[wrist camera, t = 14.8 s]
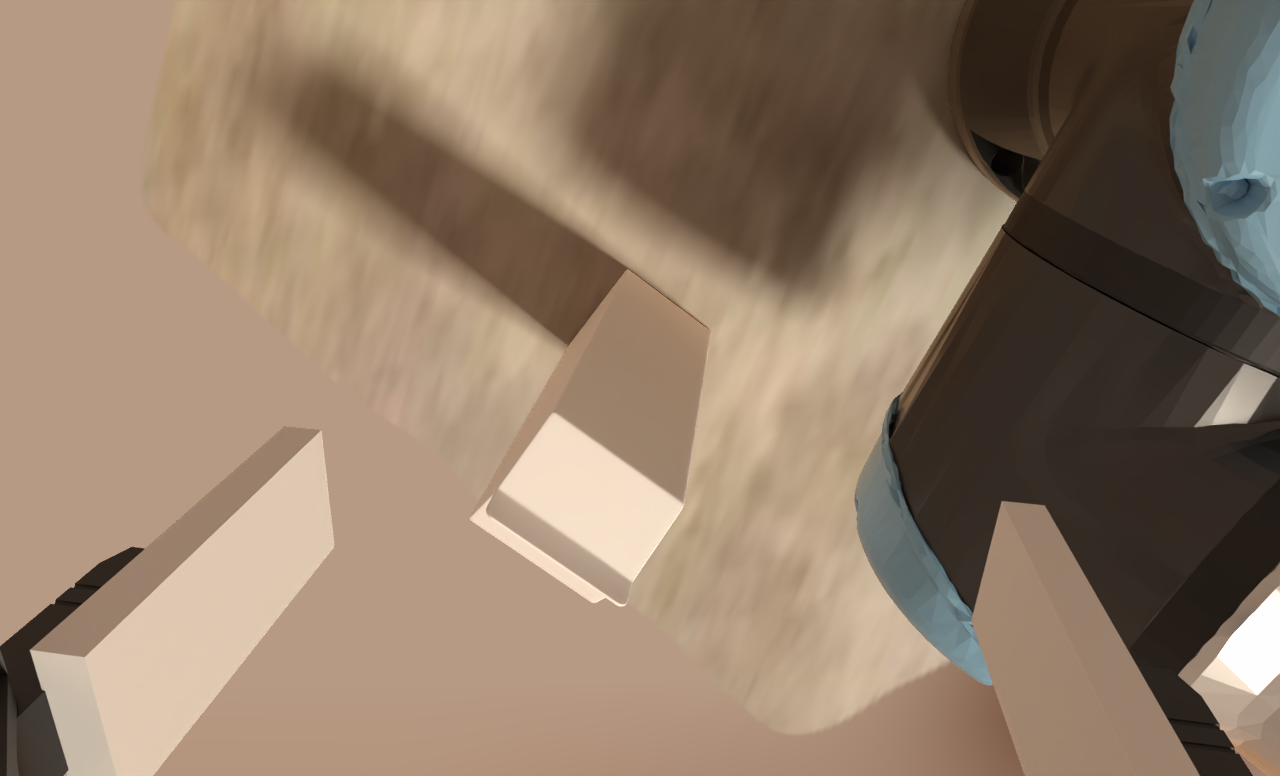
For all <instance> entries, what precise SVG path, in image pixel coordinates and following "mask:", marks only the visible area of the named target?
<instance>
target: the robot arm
mask: <svg viewBox="0 0 1280 776" xmlns="http://www.w3.org/2000/svg"><path fill="white" fill-rule="evenodd" d="M949 96H950V103H951V109H952V114H953V118H954V122H955V125H956V128H957V131H958V134H959V136H960V138H961V141H962V143H963V145H964V147H965V149H966V151H967V152H968V154H969V156H970V157H971V159H972V160H973V162H974V163H975V164H976V166H977V167H978V168H979V170H980V171H981V172H982V173H983V174H984V175H985V176H986V177H987V178H988V179H989V180H990V181H991V182H992V183H993V184H994V185H995V186H996V187H998V188H999V189H1000V190H1002V191H1003V192H1004V193H1005V194H1007V195H1008V196H1010V197H1011V198H1012V199H1014V200H1015V201H1017V204H1016V205H1015V207H1014V209H1013V211H1012V212H1011V214H1010V216H1009V217H1008V219H1007V221H1006V223H1005V224H1004V225H1003V226H1002V228H1001V229H1000V231H999V233H998V234H997V236H996V238H995V239H994V241H993V243H992V245H991V246H990V248H989V250H988V251H987V253H986V255H985V256H984V258H983V260H982V261H981V263H980V265H979V266H978V268H977V270H976V271H975V273H974V274H973V276H972V278H971V279H970V281H969V283H968V284H967V286H966V288H965V289H964V291H963V293H962V294H961V296H960V298H959V299H958V301H957V303H956V304H955V306H954V308H953V309H952V311H951V313H950V314H949V316H948V318H947V319H946V321H945V323H944V324H943V326H942V328H941V329H940V331H939V333H938V334H937V336H936V338H935V339H934V341H933V343H932V344H931V346H930V348H929V349H928V351H927V353H926V354H925V356H924V358H923V359H922V361H921V363H920V364H919V366H918V368H917V369H916V371H915V373H914V374H913V376H912V378H911V379H910V381H909V383H908V384H907V386H906V388H905V389H904V391H903V392H902V393H901V394H900V395H899V396H897V397H896V398H895V399H894V400H893V401H892V403H891V404H890V406H889V408H888V410H887V412H886V415H885V418H884V422H883V428H882V433H881V435H880V437H879V439H878V441H877V443H876V445H875V446H874V448H873V450H872V452H871V454H870V456H869V458H868V460H867V462H866V464H865V466H864V467H863V469H862V472H861V474H860V476H859V479H858V482H857V486H856V491H855V506H856V511H857V530H858V534H859V538H860V541H861V544H862V546H863V549H864V551H865V554H866V556H867V558H868V561H869V563H870V565H871V567H872V569H873V570H874V572H875V574H876V576H877V578H878V579H879V581H880V583H881V584H882V586H883V587H884V589H885V590H886V592H887V593H888V595H889V596H890V597H891V599H892V600H893V602H894V603H895V604H896V605H897V607H898V608H899V609H900V611H901V612H902V613H903V614H904V615H905V617H906V618H907V619H908V620H909V621H910V622H911V624H912V625H913V626H914V627H915V628H916V629H917V630H918V631H919V632H920V633H921V634H922V635H923V636H924V637H925V638H926V639H927V640H928V641H929V642H930V643H931V644H932V645H933V646H934V647H935V648H936V649H937V650H938V651H940V652H941V653H942V654H943V655H944V656H945V657H946V658H948V659H949V660H950V661H951V662H953V663H954V664H955V665H956V666H958V667H959V668H960V669H962V670H963V671H964V672H966V673H967V674H968V675H970V676H971V677H973V678H974V679H976V680H977V681H979V682H980V683H982V684H984V685H992V684H993V685H994V688H995V691H996V694H997V697H998V700H999V703H1000V706H1001V708H1002V711H1003V714H1004V717H1005V720H1006V723H1007V725H1008V729H1009V732H1010V735H1011V738H1012V740H1013V743H1014V746H1015V749H1016V752H1017V755H1018V758H1019V761H1020V764H1021V766H1022V769H1023V772H1024V775H1025V776H1253V775H1252V774H1251V772H1250V771H1249V769H1248V768H1247V766H1246V764H1245V763H1244V761H1243V760H1242V758H1241V757H1240V755H1239V754H1235V750H1237V751H1238V752H1239V753H1241V754H1242V755H1243V756H1244V757H1245V758H1247V759H1248V760H1249V761H1250V762H1252V763H1253V764H1254V765H1255V766H1257V767H1258V768H1259V769H1260V770H1262V771H1263V772H1264V773H1265V774H1266V775H1268V776H1280V0H967V1H966V3H965V5H964V8H963V10H962V12H961V15H960V18H959V21H958V24H957V27H956V31H955V34H954V38H953V43H952V48H951V54H950V62H949ZM333 548H334V538H333V529H332V520H331V512H330V502H329V493H328V485H327V476H326V467H325V459H324V450H323V441H322V433H321V430H314V429H305V428H295V427H283V428H282V429H281V430H280V431H279V432H278V433H277V434H276V435H274V436H273V437H272V438H271V439H270V440H269V441H268V442H266V443H265V444H264V445H263V446H262V447H261V448H260V449H258V450H257V451H256V452H255V453H254V454H253V455H251V456H250V457H249V458H248V459H247V460H246V461H245V462H244V463H242V464H241V465H240V466H239V467H238V468H237V469H236V470H234V472H232V473H231V474H230V475H229V476H228V477H227V478H225V479H224V480H223V481H222V482H221V483H220V484H219V485H217V486H216V487H215V488H214V489H213V490H212V491H210V492H209V493H208V494H207V495H206V496H205V497H204V498H203V499H201V500H200V501H199V502H198V503H197V504H196V505H195V506H193V507H192V508H191V509H190V510H189V511H188V512H187V513H185V514H184V515H183V516H182V517H181V518H180V519H179V520H177V521H176V522H175V523H174V524H173V525H172V526H171V527H169V528H168V529H167V530H166V531H165V532H164V533H163V534H162V535H160V536H159V537H158V538H157V539H156V540H155V541H154V542H152V543H151V544H150V545H149V546H148V547H147V548H146V549H143V548H135V547H131V548H129V549H127V550H125V551H123V552H121V553H119V554H117V555H115V556H113V557H111V558H109V559H107V560H105V561H103V562H101V563H99V564H98V565H97V566H96V567H94V568H93V569H92V570H91V571H90V572H88V573H87V574H86V575H85V576H83V577H82V578H81V579H80V580H79V581H78V582H77V583H75V587H74V588H70V589H68V590H67V591H66V592H64V593H63V594H62V595H61V596H60V597H58V598H57V599H56V602H55V604H50V605H49V606H48V607H47V608H45V609H44V610H43V611H42V612H41V613H39V614H38V615H37V616H36V617H35V618H33V620H31V621H30V622H29V623H27V624H26V625H25V626H24V627H23V628H21V629H20V630H19V631H18V632H17V633H15V634H14V635H13V636H12V637H11V638H10V639H9V640H7V641H6V642H5V643H4V644H2V645H1V646H0V776H63V775H64V774H65V773H66V772H67V774H68V776H153V775H154V774H155V772H156V771H157V770H158V769H159V767H160V766H161V765H162V764H163V762H164V761H165V760H166V758H167V757H168V756H169V754H170V753H171V752H172V751H173V750H174V748H175V747H176V746H177V745H178V743H179V742H180V741H181V740H182V738H183V737H184V736H185V735H186V733H187V732H188V731H189V730H190V728H191V727H192V726H193V724H194V723H195V722H196V721H197V719H198V718H199V717H200V716H201V714H202V713H203V712H204V711H205V709H206V708H207V707H208V705H209V704H210V703H211V702H212V700H213V699H214V698H215V696H216V695H217V694H218V693H219V691H220V690H221V689H222V688H223V686H224V685H225V684H226V683H227V681H228V680H229V679H230V678H231V676H232V675H233V674H234V673H235V671H236V670H237V669H238V668H239V666H240V665H241V664H242V663H243V661H244V660H245V659H246V658H247V656H248V655H249V654H250V652H251V651H252V650H253V649H254V647H255V646H256V645H257V644H258V642H259V641H260V640H261V639H262V637H263V636H264V635H265V634H266V632H267V631H268V630H269V628H270V627H271V626H272V625H273V623H274V622H275V621H276V619H277V618H278V617H279V616H280V615H281V613H282V612H283V611H284V610H285V608H286V607H287V606H288V605H289V603H290V602H291V601H292V599H293V598H294V597H295V596H296V594H297V593H298V592H299V591H300V589H301V588H302V587H303V586H304V584H305V583H306V582H307V580H308V579H309V578H310V577H311V575H312V574H313V573H314V572H315V570H316V569H317V568H318V567H319V565H320V564H321V563H322V562H323V560H324V559H325V558H326V557H327V555H328V554H329V553H330V551H331V550H332V549H333Z"/></svg>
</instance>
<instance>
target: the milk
mask: <svg viewBox="0 0 1280 776" xmlns="http://www.w3.org/2000/svg"><path fill="white" fill-rule="evenodd" d="M710 337H711V331H710V330H709V329H707V328H706V327H705V326H703V325H702V324H701V323H699V322H698V321H697V320H695V319H694V318H693V317H691V316H690V315H689V314H687V313H686V312H685V311H683V310H682V309H681V308H679V307H678V306H677V305H675V304H674V303H673V302H671V301H670V300H669V299H667V298H666V297H665V296H663V295H662V294H661V293H659V292H658V291H657V290H655V289H654V288H653V287H651V286H650V285H649V284H647V283H646V282H645V281H643V280H642V279H641V278H639V277H638V276H637V275H635V274H634V273H633V272H631V271H630V270H628V269H627V270H626V271H625V272H624V273H623V275H622V276H621V277H620V278H619V280H618V281H617V282H616V284H615V285H614V286H613V288H612V289H611V290H610V292H609V293H608V294H607V296H606V297H605V298H604V300H603V301H602V302H601V303H600V305H599V306H598V307H597V309H596V310H595V311H594V313H593V314H592V315H591V317H590V318H589V319H588V321H587V322H586V323H585V325H584V326H583V327H582V328H581V330H580V331H579V332H578V334H577V335H576V336H575V338H574V339H573V340H572V342H571V343H570V344H569V346H568V347H567V349H566V351H565V352H564V354H563V356H562V358H561V359H560V361H559V363H558V365H557V366H556V368H555V370H554V372H553V373H552V375H551V377H550V378H549V380H548V382H547V384H546V385H545V387H544V389H543V391H542V392H541V394H540V396H539V398H538V399H537V401H536V403H535V405H534V406H533V408H532V410H531V411H530V413H529V415H528V417H527V418H526V420H525V422H524V424H523V425H522V427H521V429H520V431H519V432H518V434H517V436H516V437H515V439H514V441H513V443H512V444H511V446H510V448H509V450H508V451H507V453H506V455H505V457H504V458H503V460H502V462H501V464H500V465H499V467H498V469H497V470H496V472H495V474H494V476H493V477H492V479H491V481H490V483H489V484H488V486H487V488H486V490H485V491H484V493H483V495H482V497H481V498H480V500H479V502H478V503H477V505H476V507H475V509H474V511H473V512H472V514H471V516H470V518H469V519H470V520H471V521H472V522H474V523H476V524H477V525H478V526H480V527H481V528H483V529H484V530H486V531H487V532H488V533H490V534H491V535H493V536H494V537H496V538H497V539H499V540H501V541H502V542H503V543H505V544H506V545H508V546H509V547H511V548H512V549H514V550H515V551H517V552H518V553H519V554H521V555H522V556H524V557H526V558H527V559H528V560H530V561H531V562H533V563H534V564H536V565H537V566H539V567H540V568H542V569H543V570H545V571H546V572H548V573H549V574H550V575H552V576H553V577H555V578H557V579H558V580H559V581H561V582H562V583H564V584H565V585H567V586H568V587H570V588H571V589H573V590H574V591H576V592H577V593H579V594H580V595H581V596H583V597H585V598H586V599H587V600H589V601H591V602H592V603H596V602H598V601H600V600H601V599H604V598H607V599H608V600H610V601H611V602H613V603H614V604H616V605H618V606H625V605H626V604H627V602H628V599H629V595H630V590H631V586H632V583H633V581H634V579H635V578H636V576H637V575H638V573H639V572H640V571H641V569H642V568H643V566H644V565H645V563H646V562H647V560H648V559H649V557H650V556H651V554H652V553H653V551H654V550H655V548H656V547H657V546H658V544H659V543H660V541H661V540H662V538H663V537H664V535H665V534H666V532H667V531H668V529H669V528H670V526H671V525H672V523H673V522H674V521H675V519H676V518H677V516H678V515H679V513H680V512H681V510H682V508H683V507H684V502H685V496H686V490H687V484H688V477H689V471H690V464H691V458H692V452H693V445H694V439H695V433H696V426H697V420H698V413H699V407H700V401H701V394H702V388H703V382H704V375H705V369H706V362H707V356H708V350H709V343H710Z"/></svg>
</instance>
